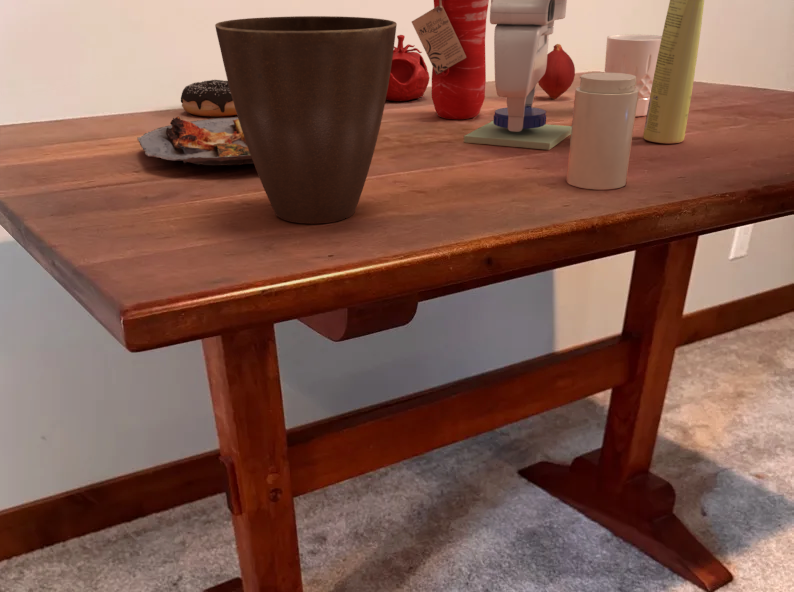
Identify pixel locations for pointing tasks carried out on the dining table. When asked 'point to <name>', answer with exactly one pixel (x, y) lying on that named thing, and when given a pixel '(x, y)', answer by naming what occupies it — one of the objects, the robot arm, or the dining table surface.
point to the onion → (557, 73)
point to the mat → (519, 136)
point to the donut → (208, 99)
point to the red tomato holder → (407, 74)
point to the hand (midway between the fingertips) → (519, 124)
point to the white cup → (634, 62)
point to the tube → (674, 73)
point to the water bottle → (456, 55)
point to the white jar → (602, 130)
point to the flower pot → (309, 106)
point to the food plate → (199, 142)
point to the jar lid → (531, 120)
